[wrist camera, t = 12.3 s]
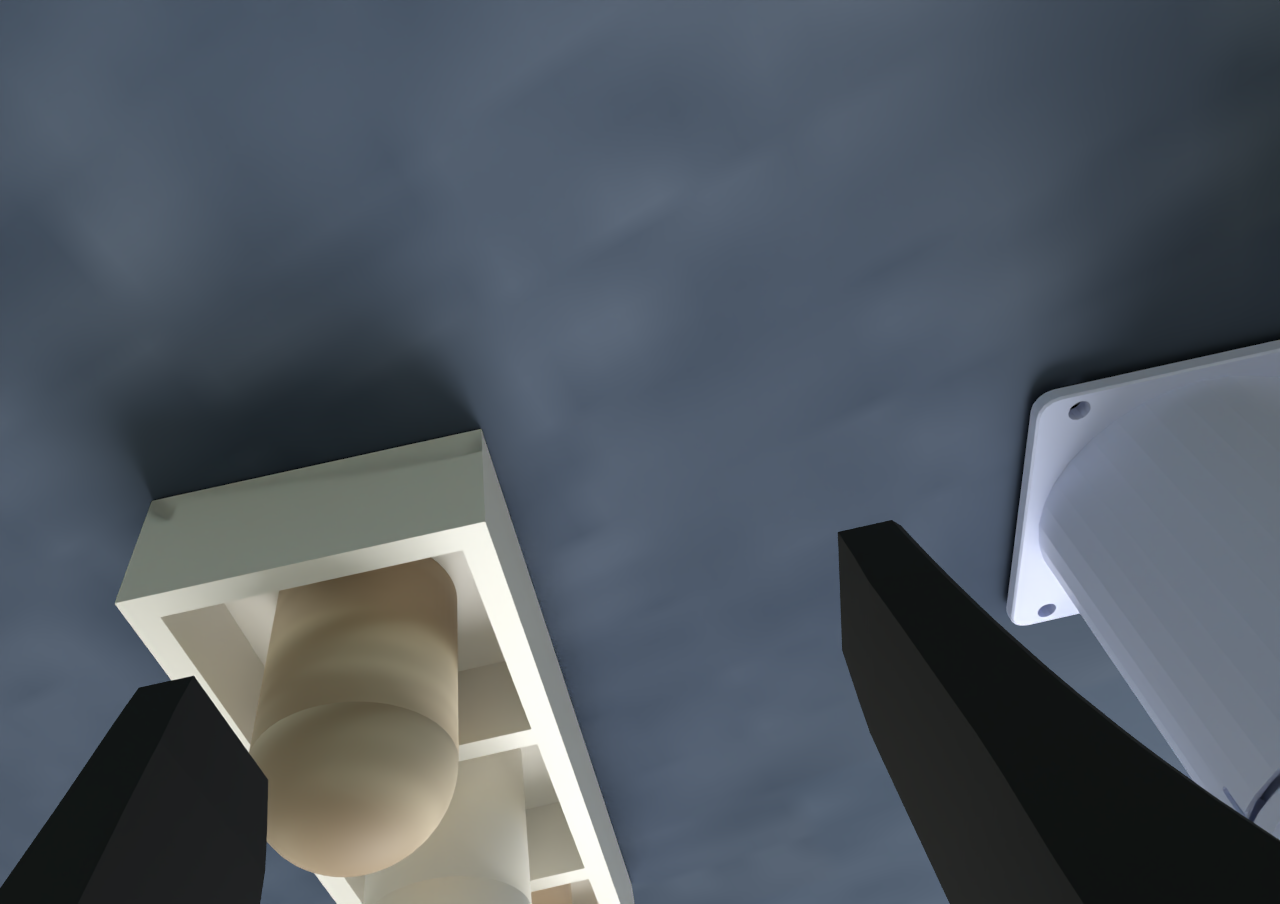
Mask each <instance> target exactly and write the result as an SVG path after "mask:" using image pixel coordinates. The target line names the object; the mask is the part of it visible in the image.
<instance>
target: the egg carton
mask: <svg viewBox="0 0 1280 904" xmlns="http://www.w3.org/2000/svg"><path fill="white" fill-rule="evenodd" d="M430 557H431V558H432V559H434V560H435V561H436V562H438V563H439V564H440V565H441V566H442V567H443V568H444V569H445V570H446V572H447V573H448V575H449V576H450V577H451V579H452V581H453V583H454V586H455V589H456V592H457V622H458V740H459V762H458V775H457V782H456V786H455V790H454V793H453V797H452V799H451V802H450V804H449V807H448V809H447V811H446V813H445V815H444V816H443V818H442V820H441V822H440V823H439V825H438V826H437V828H436V829H435V830H434V831H433V833H432V834H431V835H430V836H429V838H428V839H427V840H426V841H425V842H424V843H423V844H422V845H421V846H420V847H419V848H417V849H416V850H415V851H414V852H413V853H412V854H410V855H409V856H407V857H406V858H404V859H403V860H401V861H400V862H398V863H396V864H394V865H392V866H390V867H388V868H386V869H383V870H380V871H377V872H374V873H371V874H367V875H362V876H356V877H330V876H324V875H320V874H316V873H315V875H316V876H317V877H318V879H319V880H320V881H321V883H322V884H323V886H324V887H325V888H326V890H327V891H328V892H329V894H330V895H331V896H332V898H333V899H334V900H335V902H336V903H337V904H634V897H633V890H632V885H631V882H630V879H629V876H628V873H627V870H626V866H625V863H624V860H623V857H622V854H621V851H620V848H619V845H618V842H617V839H616V836H615V833H614V830H613V827H612V824H611V821H610V818H609V815H608V812H607V809H606V806H605V803H604V800H603V797H602V794H601V791H600V788H599V785H598V782H597V779H596V775H595V772H594V769H593V766H592V763H591V760H590V757H589V754H588V751H587V748H586V745H585V742H584V739H583V736H582V733H581V730H580V727H579V724H578V721H577V718H576V715H575V712H574V709H573V706H572V703H571V700H570V697H569V694H568V691H567V688H566V684H565V681H564V678H563V675H562V672H561V669H560V666H559V663H558V660H557V657H556V654H555V651H554V648H553V645H552V642H551V639H550V636H549V633H548V630H547V627H546V624H545V621H544V618H543V615H542V612H541V609H540V606H539V603H538V600H537V596H536V593H535V590H534V587H533V584H532V581H531V578H530V575H529V572H528V569H527V566H526V563H525V560H524V557H523V554H522V551H521V548H520V545H519V542H518V539H517V536H516V533H515V530H514V527H513V524H512V521H511V518H510V515H509V512H508V509H507V505H506V502H505V499H504V496H503V493H502V490H501V487H500V484H499V481H498V478H497V475H496V472H495V469H494V466H493V463H492V460H491V457H490V454H489V451H488V448H487V445H486V442H485V439H484V436H483V433H482V430H481V429H478V430H474V431H469V432H465V433H460V434H455V435H451V436H446V437H442V438H437V439H433V440H428V441H423V442H419V443H414V444H410V445H405V446H401V447H396V448H391V449H387V450H382V451H378V452H373V453H369V454H364V455H359V456H355V457H350V458H346V459H341V460H337V461H332V462H327V463H323V464H318V465H314V466H309V467H305V468H300V469H295V470H291V471H286V472H282V473H277V474H273V475H268V476H263V477H259V478H254V479H250V480H245V481H241V482H236V483H231V484H227V485H222V486H218V487H213V488H209V489H204V490H199V491H195V492H190V493H186V494H181V495H177V496H172V497H167V498H163V499H158V500H154V501H152V502H151V505H150V507H149V510H148V513H147V516H146V518H145V521H144V524H143V527H142V529H141V532H140V535H139V538H138V540H137V543H136V546H135V549H134V551H133V554H132V557H131V560H130V562H129V565H128V568H127V571H126V573H125V576H124V579H123V582H122V584H121V587H120V590H119V593H118V595H117V598H116V601H115V605H116V606H117V607H118V609H119V610H120V611H121V613H122V614H123V615H124V617H125V618H126V619H127V621H128V622H129V624H130V625H131V626H132V628H133V629H134V630H135V632H136V633H137V634H138V636H139V637H140V638H141V640H142V641H143V642H144V644H145V645H146V646H147V648H148V649H149V651H150V652H151V653H152V655H153V656H154V657H155V659H156V660H157V661H158V663H159V664H160V665H161V667H162V668H163V669H164V671H165V672H166V673H167V675H168V676H169V678H170V679H171V680H176V679H181V678H185V677H190V676H195V678H196V679H197V681H198V682H199V683H200V685H201V686H202V688H203V689H204V690H205V692H206V693H207V695H208V696H209V697H210V699H211V700H212V702H213V703H214V704H215V706H216V707H217V709H218V710H219V711H220V713H221V714H222V716H223V717H224V718H225V720H226V721H227V723H228V724H229V726H230V727H231V728H232V730H233V731H234V733H235V734H236V735H237V737H238V738H239V740H240V741H241V742H242V744H243V745H244V747H245V748H246V749H247V751H248V752H249V749H250V744H251V739H252V733H253V728H254V723H255V717H256V712H257V707H258V701H259V696H260V691H261V685H262V680H263V675H264V669H265V664H266V659H267V653H268V648H269V643H270V637H271V632H272V627H273V621H274V616H275V611H276V605H277V600H278V595H279V591H281V590H285V589H290V588H294V587H299V586H303V585H308V584H312V583H317V582H321V581H326V580H330V579H335V578H339V577H344V576H348V575H353V574H357V573H362V572H367V571H371V570H376V569H380V568H385V567H389V566H394V565H398V564H403V563H407V562H412V561H416V560H421V559H425V558H430Z"/></svg>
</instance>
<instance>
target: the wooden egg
mask: <svg viewBox="0 0 1280 904" xmlns="http://www.w3.org/2000/svg"><path fill="white" fill-rule="evenodd" d="M249 754H250V755H251V756H252V758H253V759H254V761H255V762H256V763H257V765H258V766H259V768H260V769H261V770H262V772H263V773H264V775H265V776H266V777H267V779H268V814H267V842H268V843H269V844H270V845H271V846H272V847H273V848H274V849H275V850H276V851H277V852H278V853H279V854H280V855H281V856H282V857H283V858H285V859H286V860H288V861H289V862H291V863H293V864H294V865H296V866H298V867H300V868H302V869H304V870H307V871H310V872H313V873H316V874H320V875H324V876H330V877H356V876H362V875H367V874H371V873H374V872H377V871H380V870H383V869H386V868H388V867H390V866H392V865H394V864H396V863H398V862H400V861H401V860H403V859H404V858H406V857H407V856H409V855H410V854H412V853H413V852H414V851H415V850H416V849H417V848H419V847H420V846H421V845H422V844H423V843H424V842H425V841H426V840H427V839H428V838H429V836H430V835H431V834H432V833H433V831H434V830H435V829H436V828H437V826H438V825H439V823H440V822H441V820H442V818H443V816H444V815H445V813H446V811H447V809H448V807H449V804H450V802H451V799H452V797H453V793H454V790H455V786H456V782H457V775H458V762H459V740H458V622H457V592H456V589H455V586H454V583H453V581H452V579H451V577H450V576H449V575H448V573H447V572H446V570H445V569H444V568H443V567H442V566H441V565H440V564H439V563H438V562H436V561H435V560H434V559H432V558H431V557H430V558H425V559H421V560H416V561H412V562H407V563H403V564H398V565H394V566H389V567H385V568H380V569H376V570H371V571H367V572H362V573H357V574H353V575H348V576H344V577H339V578H335V579H330V580H326V581H321V582H317V583H312V584H308V585H303V586H299V587H294V588H290V589H285V590H281V591H279V595H278V600H277V605H276V611H275V616H274V621H273V627H272V632H271V637H270V643H269V648H268V653H267V659H266V664H265V669H264V675H263V680H262V685H261V691H260V696H259V701H258V707H257V712H256V717H255V723H254V728H253V733H252V739H251V744H250V749H249Z"/></svg>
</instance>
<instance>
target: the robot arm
mask: <svg viewBox="0 0 1280 904" xmlns="http://www.w3.org/2000/svg"><path fill="white" fill-rule="evenodd" d="M1079 402H1080V404H1079V405H1078V406H1076V407H1075V408H1073V409H1071V410H1070V408H1071V407H1072V406H1074V405H1075V404H1076V403H1079ZM838 547H839V574H840V601H841V628H842V651H843V654H844V657H845V660H846V663H847V666H848V669H849V672H850V675H851V678H852V681H853V684H854V687H855V690H856V693H857V696H858V699H859V702H860V705H861V708H862V711H863V713H864V716H865V719H866V722H867V725H868V728H869V731H870V733H871V736H872V738H873V740H874V742H875V744H876V747H877V749H878V751H879V753H880V755H881V758H882V760H883V762H884V764H885V766H886V768H887V770H888V773H889V775H890V777H891V779H892V781H893V783H894V786H895V788H896V790H897V792H898V794H899V796H900V799H901V801H902V803H903V805H904V807H905V809H906V811H907V813H908V816H909V818H910V820H911V822H912V824H913V826H914V828H915V830H916V833H917V835H918V837H919V839H920V841H921V843H922V845H923V848H924V850H925V852H926V854H927V856H928V858H929V860H930V862H931V865H932V867H933V869H934V871H935V873H936V875H937V877H938V879H939V882H940V884H941V886H942V888H943V890H944V892H945V894H946V897H947V899H948V901H949V903H950V904H1280V340H1276V341H1271V342H1267V343H1262V344H1258V345H1253V346H1249V347H1244V348H1240V349H1235V350H1231V351H1226V352H1221V353H1217V354H1212V355H1208V356H1203V357H1199V358H1194V359H1190V360H1185V361H1181V362H1176V363H1172V364H1167V365H1163V366H1158V367H1153V368H1149V369H1144V370H1140V371H1135V372H1131V373H1126V374H1122V375H1117V376H1113V377H1108V378H1104V379H1099V380H1095V381H1090V382H1086V383H1081V384H1076V385H1072V386H1067V387H1063V388H1058V389H1054V390H1051V391H1049V392H1046V393H1044V394H1043V395H1041V396H1040V397H1039V398H1038V399H1037V400H1036V401H1035V403H1034V404H1033V406H1032V409H1031V413H1030V421H1029V429H1028V437H1027V445H1026V454H1025V462H1024V470H1023V478H1022V486H1021V494H1020V502H1019V510H1018V518H1017V526H1016V534H1015V543H1014V551H1013V559H1012V567H1011V575H1010V583H1009V591H1008V599H1007V607H1006V610H1007V614H1008V616H1009V617H1010V619H1011V621H1012V622H1013V623H1014V624H1016V625H1021V626H1022V625H1030V624H1034V623H1039V622H1043V621H1048V620H1052V619H1057V618H1061V617H1065V616H1070V615H1074V614H1079V613H1080V614H1081V616H1082V617H1083V619H1084V620H1085V621H1086V623H1087V624H1088V626H1089V627H1090V629H1091V630H1092V632H1093V633H1094V635H1095V636H1096V638H1097V639H1098V641H1099V642H1100V644H1101V645H1102V647H1103V648H1104V650H1105V651H1106V652H1107V654H1108V655H1109V657H1110V658H1111V660H1112V661H1113V663H1114V664H1115V666H1116V667H1117V669H1118V670H1119V672H1120V673H1121V675H1122V676H1123V678H1124V679H1125V681H1126V682H1127V684H1128V685H1129V686H1130V688H1131V689H1132V691H1133V692H1134V694H1135V695H1136V697H1137V698H1138V700H1139V701H1140V703H1141V704H1142V706H1143V707H1144V709H1145V710H1146V712H1147V713H1148V715H1149V716H1150V717H1151V719H1152V720H1153V722H1154V723H1155V725H1156V726H1157V728H1158V729H1159V731H1160V732H1161V734H1162V735H1163V737H1164V738H1165V740H1166V741H1167V743H1168V744H1169V746H1170V747H1171V748H1172V750H1173V751H1174V753H1175V754H1176V756H1177V757H1178V759H1179V760H1180V762H1181V763H1182V765H1183V766H1184V768H1185V769H1186V771H1187V772H1188V774H1189V775H1190V777H1191V778H1192V779H1193V781H1192V780H1191V779H1189V778H1188V777H1187V776H1185V775H1184V774H1182V773H1181V772H1180V771H1178V770H1177V769H1175V768H1174V767H1172V766H1171V765H1170V764H1168V763H1167V762H1166V761H1164V760H1163V759H1162V758H1160V757H1159V756H1158V755H1156V754H1155V753H1154V752H1152V751H1151V750H1150V749H1148V748H1147V747H1146V746H1144V745H1143V744H1142V743H1140V742H1139V741H1138V740H1136V739H1135V738H1134V737H1133V736H1131V735H1130V734H1129V733H1127V732H1126V731H1125V730H1123V729H1122V728H1121V727H1120V726H1118V725H1117V724H1116V723H1115V722H1113V721H1112V720H1111V719H1110V718H1108V717H1107V716H1106V715H1105V714H1103V713H1102V712H1101V711H1100V710H1098V709H1097V708H1096V707H1095V706H1093V705H1092V704H1091V703H1090V702H1088V701H1087V700H1086V699H1085V698H1084V697H1082V696H1081V695H1080V694H1079V693H1077V692H1076V691H1075V690H1074V689H1073V688H1071V687H1070V686H1069V685H1068V684H1067V683H1065V682H1064V681H1063V680H1062V679H1061V678H1060V677H1058V676H1057V675H1056V674H1055V673H1054V672H1052V671H1051V670H1050V669H1049V668H1048V667H1047V666H1046V665H1044V664H1043V663H1042V662H1041V661H1040V660H1039V659H1038V658H1037V657H1035V656H1034V655H1033V654H1032V653H1031V652H1030V651H1029V650H1028V649H1027V648H1025V647H1024V646H1023V645H1022V644H1021V643H1020V642H1019V641H1018V640H1016V639H1015V638H1014V637H1013V636H1012V635H1011V634H1010V633H1009V632H1007V631H1006V630H1005V629H1004V628H1003V627H1002V626H1001V625H1000V624H999V623H998V622H996V621H995V620H994V619H993V618H992V617H991V616H990V615H989V614H988V613H987V612H986V611H985V610H984V609H983V608H982V607H980V606H979V605H978V604H977V603H976V602H975V601H974V600H973V599H972V598H971V597H970V596H969V595H968V594H967V593H966V592H965V591H964V590H963V589H962V588H961V587H960V586H959V585H958V584H957V583H956V582H955V581H954V580H953V579H952V578H951V577H950V576H949V575H948V574H947V573H946V572H945V571H944V570H943V569H942V568H941V567H940V566H939V565H938V564H937V563H936V562H935V561H934V560H933V559H932V558H931V557H930V556H929V555H928V554H927V553H926V552H925V551H924V550H923V549H922V548H921V547H920V546H919V544H918V543H917V542H916V541H915V540H914V539H913V538H912V537H911V536H910V535H909V534H908V533H907V532H906V531H905V529H904V528H903V527H902V526H901V525H899V524H897V523H896V522H894V521H892V520H890V521H885V522H881V523H876V524H872V525H868V526H863V527H859V528H854V529H850V530H845V531H841V532H838ZM267 814H268V779H267V777H266V776H265V775H264V773H263V772H262V770H261V769H260V768H259V766H258V765H257V763H256V762H255V761H254V759H253V758H252V756H251V755H250V754H249V752H248V751H247V749H246V748H245V747H244V745H243V744H242V742H241V741H240V740H239V738H238V737H237V735H236V734H235V733H234V731H233V730H232V728H231V727H230V726H229V724H228V723H227V721H226V720H225V718H224V717H223V716H222V714H221V713H220V711H219V710H218V709H217V707H216V706H215V704H214V703H213V702H212V700H211V699H210V697H209V696H208V695H207V693H206V692H205V690H204V689H203V688H202V686H201V685H200V683H199V682H198V681H197V679H196V678H195V676H190V677H185V678H181V679H176V680H172V681H167V682H163V683H158V684H154V685H149V686H145V687H140V688H138V690H137V691H136V693H135V694H134V695H133V697H132V698H131V700H130V701H129V702H128V704H127V705H126V707H125V708H124V709H123V711H122V712H121V714H120V715H119V717H118V718H117V719H116V721H115V722H114V724H113V725H112V727H111V728H110V730H109V731H108V733H107V734H106V736H105V737H104V739H103V740H102V741H101V743H100V744H99V746H98V747H97V749H96V750H95V752H94V753H93V755H92V756H91V758H90V759H89V761H88V762H87V764H86V765H85V767H84V768H83V770H82V771H81V773H80V774H79V776H78V777H77V778H76V780H75V781H74V783H73V784H72V786H71V787H70V789H69V790H68V792H67V793H66V795H65V796H64V798H63V799H62V801H61V802H60V803H59V805H58V806H57V808H56V809H55V811H54V812H53V814H52V815H51V816H50V818H49V819H48V821H47V822H46V824H45V825H44V826H43V828H42V829H41V831H40V832H39V834H38V835H37V836H36V838H35V839H34V841H33V842H32V844H31V845H30V846H29V848H28V849H27V851H26V852H25V854H24V855H23V857H22V858H21V859H20V861H19V862H18V864H17V865H16V867H15V868H14V869H13V871H12V872H11V874H10V875H9V877H8V878H7V879H6V881H5V882H4V884H3V885H2V886H1V888H0V904H260V900H261V894H262V887H263V880H264V874H265V860H266V842H267Z"/></svg>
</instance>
